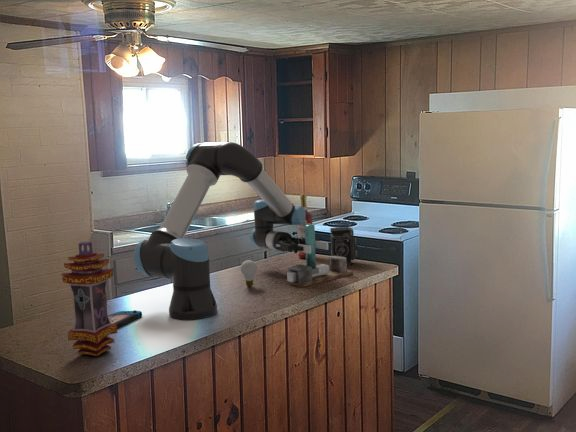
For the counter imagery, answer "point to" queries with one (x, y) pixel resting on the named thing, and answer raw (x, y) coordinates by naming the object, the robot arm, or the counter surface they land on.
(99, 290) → the lantern
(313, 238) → the tube
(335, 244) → the camera
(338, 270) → the bench
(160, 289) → the counter surface
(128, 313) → the gaming console
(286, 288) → the counter surface
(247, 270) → the light bulb
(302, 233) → the liquor
